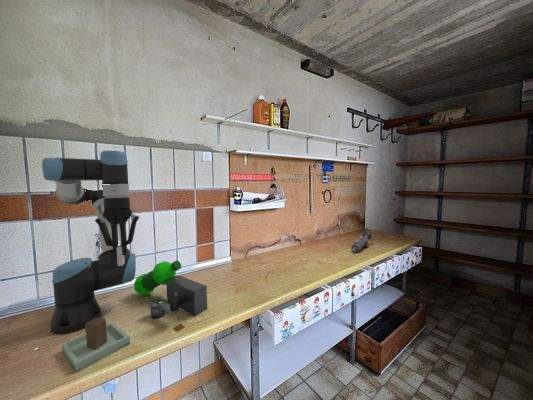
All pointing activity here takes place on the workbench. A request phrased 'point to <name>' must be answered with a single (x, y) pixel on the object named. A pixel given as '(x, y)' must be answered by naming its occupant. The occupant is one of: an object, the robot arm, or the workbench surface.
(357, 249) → the hydraulic cylinder
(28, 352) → the workbench surface
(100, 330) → the wooden block
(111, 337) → the tray
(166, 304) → the crank
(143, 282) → the plastic bottle
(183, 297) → the stand
